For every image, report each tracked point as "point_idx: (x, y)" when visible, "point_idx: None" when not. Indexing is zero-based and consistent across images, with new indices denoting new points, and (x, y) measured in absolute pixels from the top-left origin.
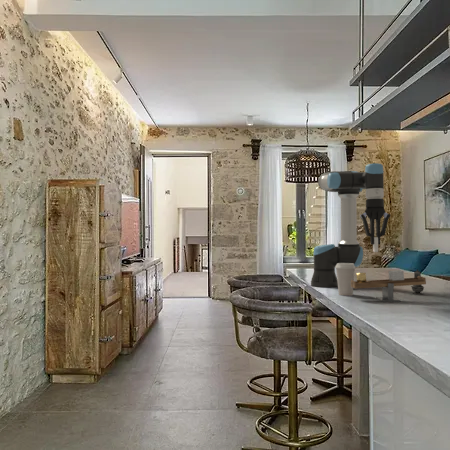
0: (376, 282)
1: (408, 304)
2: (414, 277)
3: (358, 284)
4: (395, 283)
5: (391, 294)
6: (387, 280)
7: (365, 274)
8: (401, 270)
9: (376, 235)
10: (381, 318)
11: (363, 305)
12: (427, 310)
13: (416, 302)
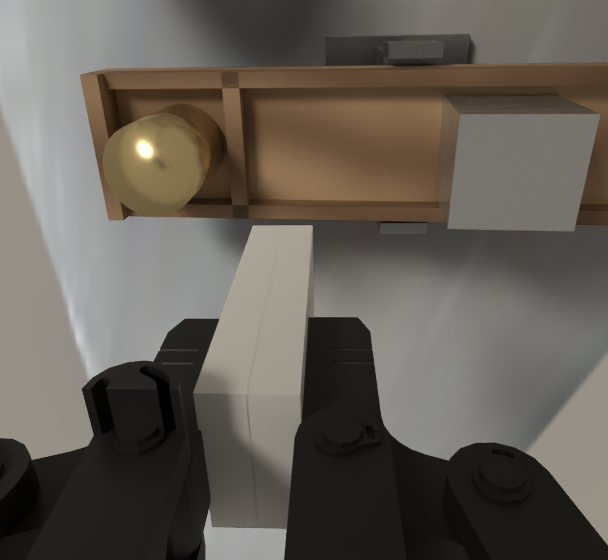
0: (292, 218)
1: (458, 269)
2: None
3: None
4: None
5: None
6: (432, 85)
7: (193, 193)
8: (581, 182)
9: (294, 467)
10: (223, 545)
11: (194, 312)
12: (470, 417)
13: None
